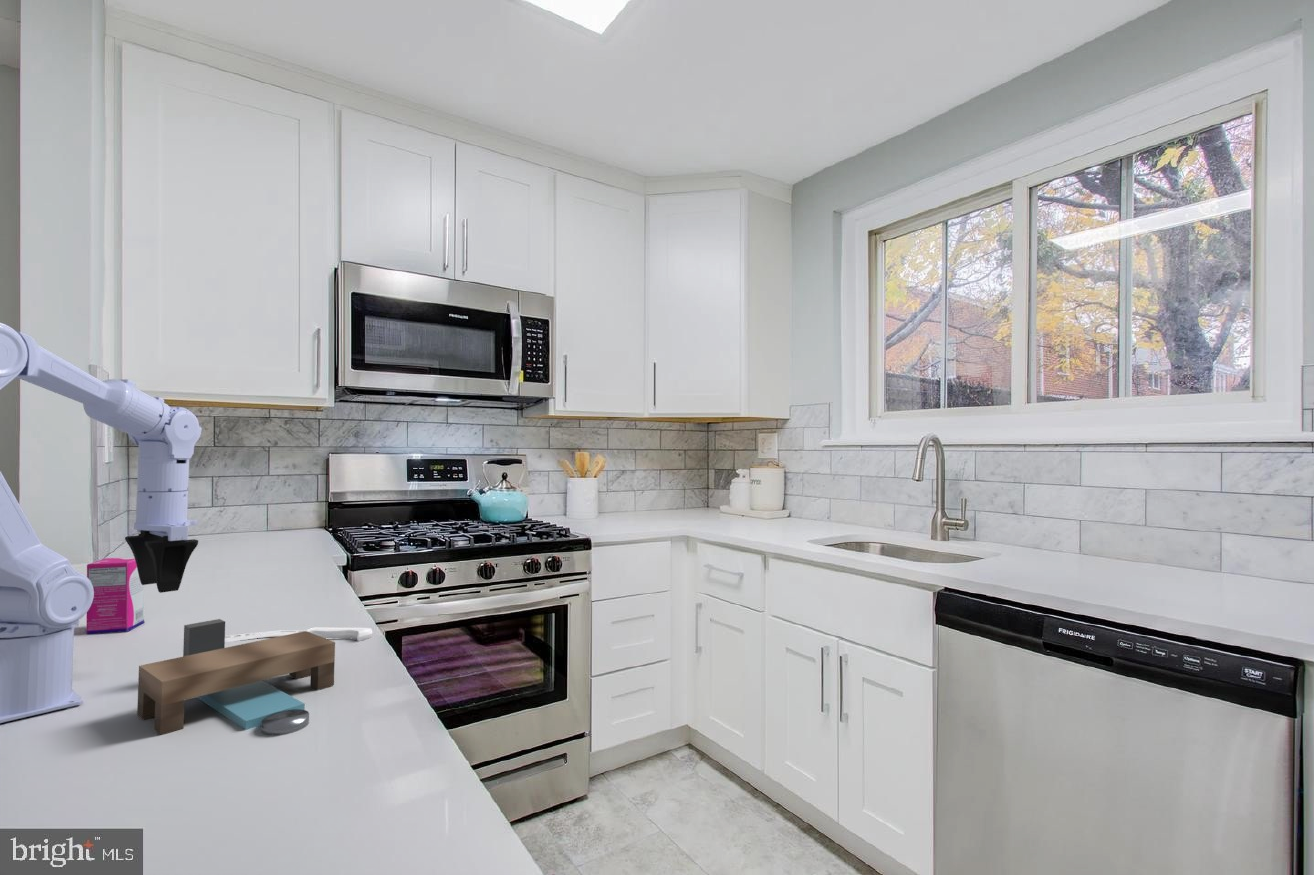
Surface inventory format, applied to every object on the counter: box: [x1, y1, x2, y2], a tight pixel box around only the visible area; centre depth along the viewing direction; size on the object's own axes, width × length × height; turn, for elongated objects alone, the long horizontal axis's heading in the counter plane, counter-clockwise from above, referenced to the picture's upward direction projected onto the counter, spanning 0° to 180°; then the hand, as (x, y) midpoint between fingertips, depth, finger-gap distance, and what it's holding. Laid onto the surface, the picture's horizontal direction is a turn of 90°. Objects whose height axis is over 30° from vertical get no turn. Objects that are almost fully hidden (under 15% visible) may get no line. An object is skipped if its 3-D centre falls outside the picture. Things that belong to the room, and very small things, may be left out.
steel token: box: [260, 709, 310, 736], centre depth 68 cm, size 4×4×1 cm
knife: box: [225, 626, 373, 643], centre depth 99 cm, size 30×2×8 cm
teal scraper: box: [182, 618, 305, 731], centre depth 76 cm, size 6×23×7 cm, turn 53°
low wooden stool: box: [136, 630, 336, 735], centre depth 75 cm, size 18×8×6 cm, turn 143°
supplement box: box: [85, 556, 145, 635], centre depth 103 cm, size 6×6×12 cm
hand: (159, 587), depth 88 cm, fingers open, 7 cm apart
